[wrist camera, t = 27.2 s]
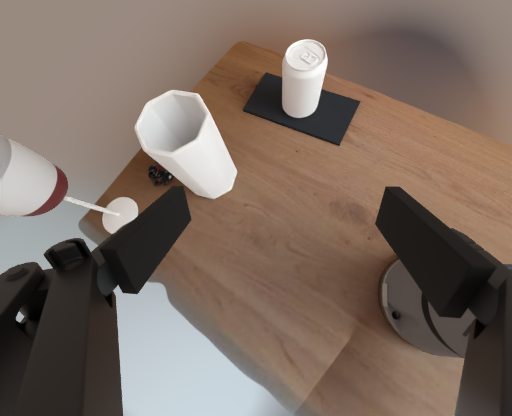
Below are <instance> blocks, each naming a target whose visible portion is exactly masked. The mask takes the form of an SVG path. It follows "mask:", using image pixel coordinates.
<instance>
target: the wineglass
mask: <svg viewBox="0 0 512 416" xmlns="http://www.w3.org/2000/svg"><path fill="white" fill-rule="evenodd" d="M67 189H68V181H67V177H66V176H65V174H64V173H63V171H62V170H61V169H59V168H58V167H57V166H55V165H54V164H52V163H51V162H49V161H48V160H46V159H45V158H43V157H42V156H40V155H39V154H37V153H35V152H34V151H32V150H30V149H28V148H26V147H24V146H23V145H21V144H19V143H17V142H15V141H13V140H11V139H9V138H7V137H5V136H3V135H0V215H3V216H35V215H40V214H43V213H46V212H48V211H50V210H52V209H53V208H55V207H56V206H57V205H58V204H59V203H60V202H61V201H62V200H64V201H68V202H71V203H75V204H78V205H81V206H85V207H88V208H91V209H94V210H98V211H101V212H104V213H103V218H102V222H103V226H104V228H105V229H106V230H107V231H108V232H110V233H111V234H113V233H116V231H117V230H118V229H119V228H121V227H122V226H123V225H125V224H127V223H129V222H131V221H132V220H134V219H135V218H136V217H137V216H138V207H137V204H136V203H135V202H134V200H132V199H131V198H128V197H120V198H117V199H115V200H113V201H112V202H111V203H110V204H108V206H107V207H106V208H103V207H100V206H97V205H94V204H91V203H88V202H85V201H81V200H78V199H75V198H72V197H69V196H66V193H67Z"/></svg>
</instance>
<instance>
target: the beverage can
mask: <svg viewBox="0 0 512 416" xmlns="http://www.w3.org/2000/svg"><path fill="white" fill-rule="evenodd" d="M326 67H327V55H326V50H325V48H324V46H323V45H322V44H321V43H319V42H317V41H315V40H308V39H306V40H300V41H297V42H295V43H293V44H292V45H291V46H290V47H289V48H288V49H287V51H286V54H285V56H284V58H283V63H282V107H283V109H284V111H285V112H286V113H287V114H288V115H290V116H292V117H295V118H303V117H307V116H309V115H311V114H312V113H313V112H314V111H315V110H316V108H317V106H318V102H319V97H320V93H321V89H322V84H323V80H324V75H325V71H326Z"/></svg>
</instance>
